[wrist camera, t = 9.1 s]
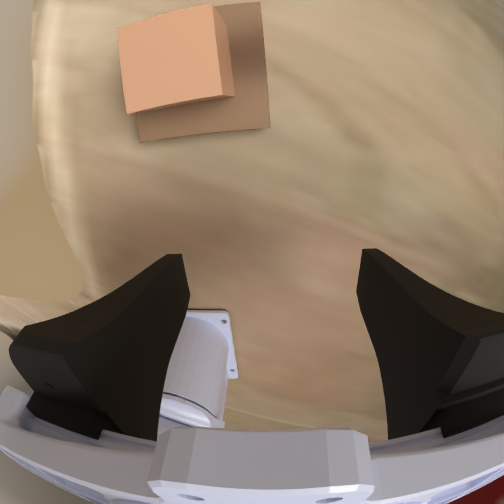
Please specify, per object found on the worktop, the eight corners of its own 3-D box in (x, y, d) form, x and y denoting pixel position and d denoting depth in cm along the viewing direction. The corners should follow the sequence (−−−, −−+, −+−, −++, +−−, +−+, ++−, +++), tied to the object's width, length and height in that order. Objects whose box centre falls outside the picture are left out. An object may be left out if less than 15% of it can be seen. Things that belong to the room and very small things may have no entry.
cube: (235, 96, 15) (222, 94, 11) (160, 109, 15) (126, 114, 11) (226, 25, 13) (211, 3, 9) (152, 41, 13) (117, 28, 9)
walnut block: (270, 124, 18) (270, 128, 16) (156, 136, 19) (139, 142, 16) (261, 15, 14) (260, 1, 12) (146, 34, 15) (128, 26, 13)
